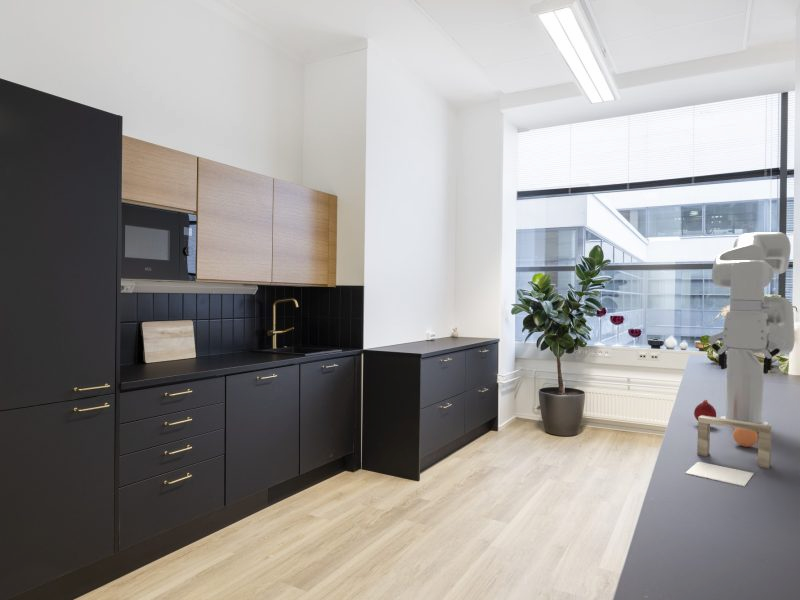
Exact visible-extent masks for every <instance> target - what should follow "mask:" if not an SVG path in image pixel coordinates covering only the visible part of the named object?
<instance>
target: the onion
mask: <svg viewBox="0 0 800 600" xmlns="http://www.w3.org/2000/svg"><path fill="white" fill-rule="evenodd" d="M693 415H694V418H695V419H696V421H697V422H698V417H699V416H701V415H703V416H710V417H716V418H717V411H716V409H715V406H713V405H712V404H711V403H710V402H708V400H707V399H703V401H702V402H701V403H699V404H697V406H696V407H695V408H694V411H693Z"/></svg>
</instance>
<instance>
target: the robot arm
mask: <svg viewBox="0 0 800 600" xmlns="http://www.w3.org/2000/svg"><path fill="white" fill-rule="evenodd" d="M790 257H791V240H790V238H789V237H788V236H787V234H786V233H784V232H780V231H770V232H768V231H767V232H749V233H743V234H741V235H739V236H738V237H737V238H736V239H735V241H734V243H733V248H732V249H729V250H726V251H724V252H722V253H720V254H718V255H717V256H716V257H715V259H714V262H713V265H712V269H711V279H712V283H713V284H714V285H715V286H716V287H717V288H729V289H730V292H729V293H730V294H729V311H728V310H727V311H726V314H725V318H724V324H723V331H722V332H719V333H717V334H714V335H712V336H708V339H707V340H708V342H709V343H710V345H711V347H712V348H713V349H714V351H715V352H716V353H717V354H718V366H720V370H725V369H726V392H725V393H726V394H725V396H726V397H725V415H723V416H722V415H721V416H720V417H719V418H723V419H729V420H736V421H742V422H749V423H756V424H762V425H769V423H768V422H767V421H766V420H763V413H764V412H763V411H764V410H763V409H764V385H765V384H764V381H765V380H764V379H765V375H768V374H769V371H770V372H771V371H772V367H773V366H772V364H773V363H772V361H773V360H772V358H774V357H775V356H778V355H779V356H780V355H782V356H784V355H788V354H790V353H792V352H793V349H794V346H795V321H794V320H795V319H794V318H795V317H794V308H793V304H792V302H791V300H789V299H788V298H786V297H782V296H765V287H768V285H769V284H770V283H771V282H772V281H773V277H774V275H782V274H783V273H786V272H787V270H788V268H789V265H790ZM721 338H722V339H721ZM718 339H721V340H722V346H720V345H719V344H718V343H717V340H718ZM755 354H763V355H764V358H763V364H762V363H761V362H760V360H759V359H758V358H757V357H756V356H755Z"/></svg>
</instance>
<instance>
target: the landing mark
mask: <svg viewBox="0 0 800 600" xmlns="http://www.w3.org/2000/svg"><path fill="white" fill-rule="evenodd" d="M684 474H685V475H690V476H695V477H699V478H702V479H703V478H704V479H707V478H708V480H713V481H716V480H717V482H721V483H726V484H731V485H734V486H735V485H736V486H739V487H744V488H745V487H746V485H747V484H748V483H749V481H750V480H751V479H752V477H753V476H754V474H755V472H750V471H746V470H741V469H738V468H737V469H735V468H730V467H726V466H720V465H716V464H711V463H707V462H704V461H703V462H702V461H697V462H696V463H694V465H692V466H691V467H690V468H689V469H688V470H687V471H686V472H684Z"/></svg>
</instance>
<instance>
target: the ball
mask: <svg viewBox="0 0 800 600" xmlns="http://www.w3.org/2000/svg"><path fill="white" fill-rule="evenodd" d="M732 436H733V437H732V438H733V439H734V441H735V442H736V443H737V444H738V445H739V446H741V447H745V448H749V447H753V446H755V445H756V444H757V442H759V433H758V432H757V431H751V430H745V429H739V428H734V430H733V433H732Z"/></svg>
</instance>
